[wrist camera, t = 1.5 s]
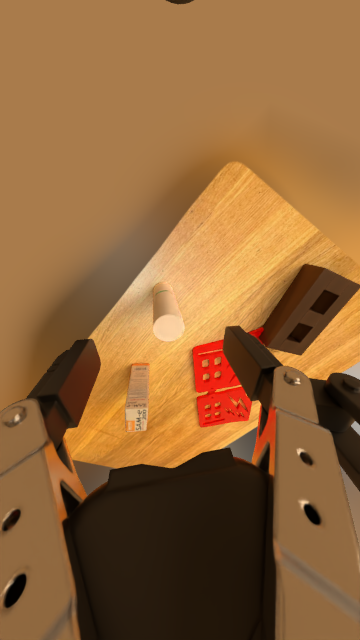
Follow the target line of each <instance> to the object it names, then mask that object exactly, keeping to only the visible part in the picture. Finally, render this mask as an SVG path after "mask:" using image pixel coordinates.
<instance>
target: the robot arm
mask: <svg viewBox="0 0 360 640" xmlns="http://www.w3.org/2000/svg"><path fill="white" fill-rule="evenodd" d="M223 353H224V355H225V357H226V359H227V361H228V363H229V364H230V366H231V368H232V370H233V371H234V373H235V375H236V377H237V378H238V380H239V382H240V384H241V385H242V387H243V389H244V391H245V392H246V394H247V396H248V398H249V399H250V401H256V400H259V401H260V403H261V407H260V413H259V422H258V431H257V440H256V445H255V450H254V453H253V459H252V463H250V462H248V461H246V460H244V459H241V458H237V457H233V455H232V452H231V449H230V448H225V449H219V450H214V451H208V452H203V453H201V454H199V455H197V456H196V457H194V458H192V459H190V460H188V461H187V462H185V463H183V464H181V465H179V466H178V467H176V468H165V467H158V466H151V465H145V464H139V465H134V466H128V467H123V468H118V469H112V470H110V473H109V479H108V481H107V482H106V483H104V484H102V485H101V486H99V487H98V488H97V489H95V490H94V491H93V492H92V493H90V494H89V495H88V496H87V495H86V493H85V490H84V488H83V486H82V484H81V482H80V481H79V478H78V476H77V473H76V470H75V467H74V464H73V461H72V458H71V455H70V452H69V449H68V446H67V443H66V440H65V438H64V437H63V436H64V434H65V432H66V429H68V428H75V427H78V424H79V422H80V419H81V417H82V414H83V411H84V409H85V406H86V404H87V401H88V399H89V396H90V393H91V391H92V388H93V386H94V383H95V381H96V378H97V376H98V373H99V370H100V366H101V362H100V357H99V355H98V352H97V349H96V346H95V343H94V341H93V339H84V340H77V341H75V343H74V344H73V345H72V347H71V348H70V350H66V351H65V352H63V353H62V354H61V355H60V356H58V357H57V359H56V360H55V361H54V362H53V364H52V366H50V368H49V369H48V370H47V373H45V374H44V375H43V377H42V378H41V379H40V381H39V382H38V383H37V385H36V386H35V387H34V389H33V390H32V391H31V393H30V394H29V395H28V396H27V398H26V399H24V400H20V401H18V402H15V403H13V404H11V405H10V406H8V407H6V408H5V409H3V410H2V411H1V412H0V640H360V547H359V542H358V538H357V534H356V530H355V527H354V522H353V518H352V514H351V510H350V506H349V502H348V498H347V494H346V490H345V486H344V482H343V478H342V474H341V469H340V466H341V467H342V468H343V470H344V471H345V472H346V474H347V475H348V476H349V478H350V479H351V480H352V482H353V483H354V484H355V486H356V487H357V488H358V490H359V491H360V436H359V434H357V432H356V431H355V430H354V429H353V428H352V427H351V425H352V424H353V423H354V421H356V422H357V423H358V424H359V425H360V380H359V379H357V378H355V377H353V376H350V375H347V374H343V373H332V374H331V375H330V376H329V377H328V379H327V381H326V380H318V379H311V378H308V377H307V376H306V375H305V374H304V373H302V372H301V371H299V370H297V369H295V368H292V367H289V366H283V365H282V364H281V363H280V362H279V361H278V360H277V359H276V358H275V357H274V356H273V354H272V353H271V352H270V351H269V350H268V349H267V348H265V346H264V345H263V344H261V342H260V341H259V340H258V339H257V338H256V337H255V336H253V335H251V334H250V333H246V332H245V331H244V330H243V329H242V328H241V327H240V326H228V327H226V329H225V335H224V341H223ZM339 464H340V466H339Z"/></svg>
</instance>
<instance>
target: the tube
mask: <svg viewBox="0 0 360 640" xmlns="http://www.w3.org/2000/svg"><path fill="white" fill-rule="evenodd" d="M184 330H185V325H184V322H183V318H182V315H181V312H180V309H179V306H178V303H177V300H176V297H175V294H174V291H173V288H172V286H171V285H170V284H168V283H166V282H161V283H158V284H157V285H156V286H155V287H154V290H153V332H154V334H155V336H156V337H157V338H158V339H160V340H162V341H167V342H169V341H174V340H177V339H178V338H180V337H181V336H182V334H183V333H184Z"/></svg>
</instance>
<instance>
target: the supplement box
mask: <svg viewBox="0 0 360 640" xmlns="http://www.w3.org/2000/svg"><path fill="white" fill-rule="evenodd" d="M148 403H149V364H132V368H131V375H130V381H129V387H128V393H127V399H126V405H125V426H126V432H132V431H144V430H147V419H148Z"/></svg>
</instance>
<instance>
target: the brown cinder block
mask: <svg viewBox="0 0 360 640" xmlns="http://www.w3.org/2000/svg"><path fill="white" fill-rule="evenodd" d="M359 288H360V285H359V284H357V283H355V282H353V281H351V280H349V279H347V278H345V277H342V276H340V275H338V274H336V273H334V272H332V271H330V270H328V269H326V268H322V267H318V266H313V265H308V264H305V265H304V266H303V268H302V269H301V271H300V272H299V273H298V275H297V276H296V278H295V279H294V281H293V282H292V284H291V285H290V287H289V288H288V290H287V291H286V293H285V294H284V296H283V297H282V299H281V300H280V302H279V303H278V305H277V306H276V308H275V309H274V311H273V312H272V314H271V315H270V317H269V318H268V320H267V321H266V323H265V324H264V326H263V327H262V328H263V329H264V330H263V332H262V333H261V335H260V336H259V337H258V339H259V340H260V341H261V342H262V343H263V344H264V345H265V346H266V347H267V348H271V349H276V350H280V351H284V352H288V353H292V354H297V355H302V354H303V353H304V351H305V350H306V349H307V348H308V347H309V346H310V345H311V343H312V342H313V341H314V340H315V339H316V338H317V337H318V335H319V334H320V333H321V332H322V331H323V330H324V329H325V327H326V326H327V325H328V324H329V323H330V322H331V321H332V319H333V318H334V317H335V316H336V315H337V314H338V313H339V311H340V310H341V309H342V308H343V307H344V306H345V304H346V303H347V302H348V301H349V300H350V299H351V298H352V296H353V295H354V294H355V293H356V292H357V291H358V290H359Z"/></svg>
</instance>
